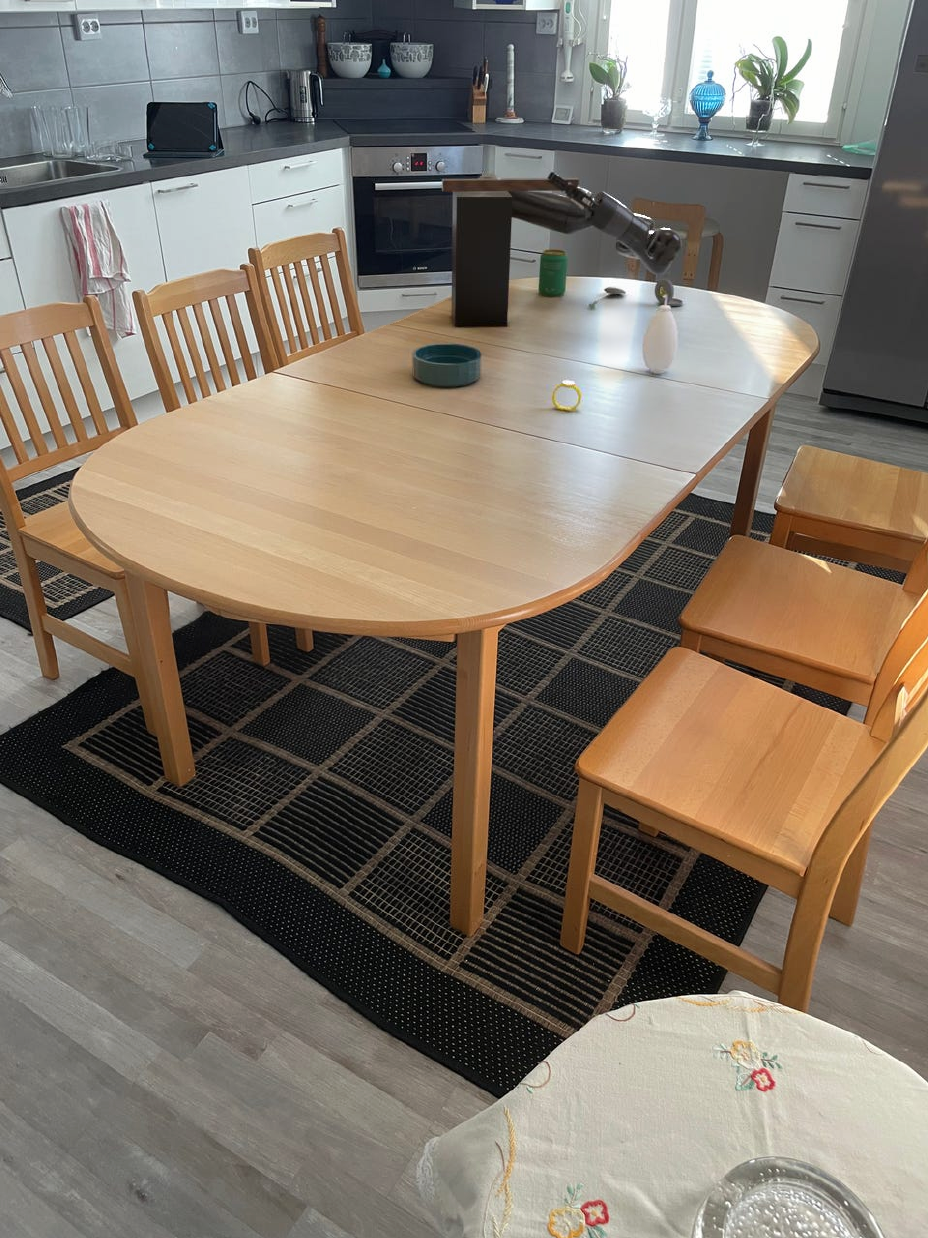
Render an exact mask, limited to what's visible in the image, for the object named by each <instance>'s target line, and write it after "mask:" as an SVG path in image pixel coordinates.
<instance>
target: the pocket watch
mask: <svg viewBox="0 0 928 1238" xmlns="http://www.w3.org/2000/svg"><path fill="white" fill-rule="evenodd" d="M662 275H664V277H665V278H661V279H659V280H658V281H657V282H656V284H655V286H654V296H655V299H656V300H657V302H659V304H660V305H664V304H665V298H666V294H667V305H668V306H670V307H679V306H681V305H683V300H681V299H679V298H674V294H675V288H674V284H673V283H672V281H671V280H670V279H668V277H669V276H670V275H671V273H670V271H669V270H667V271H666V272H665V273H663V274H662Z"/></svg>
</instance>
